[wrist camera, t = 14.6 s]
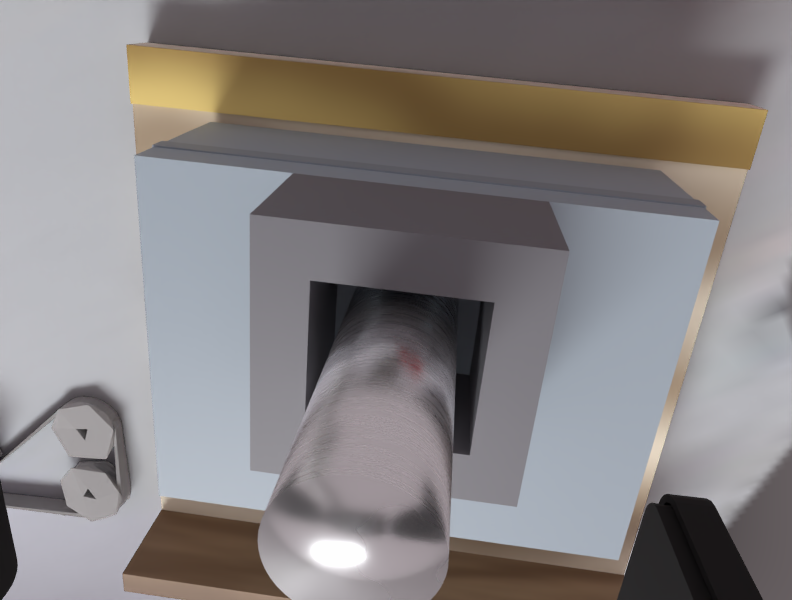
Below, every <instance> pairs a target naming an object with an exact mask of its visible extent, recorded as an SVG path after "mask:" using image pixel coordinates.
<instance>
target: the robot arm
mask: <svg viewBox="0 0 792 600" xmlns="http://www.w3.org/2000/svg"><path fill="white" fill-rule="evenodd" d="M17 566H18V565H17V557H16V552H15V548H14V543H13V538H12V534H11V529H10V524H9V519H8V515H7V510H6V505H5V500H4V496H3V491H2V486H1V481H0V600H2V599H3V597H4V596H5V595H6V593H7V592H8V591H9V589H10V587H11V586H12V584H13V582H14V579H15V576H16V573H17ZM617 600H763V599H762V597H761V595H760V593H759V591H758V589H757V587H756V585H755V583H754V581H753V579H752V578H751V576H750V574H749V572H748V570H747V568H746V566H745V564H744V562H743V560H742V558H741V556H740V554H739V552H738V550H737V548H736V546H735V544H734V543H733V540H732V539H731V537H730V535H729V533H728V531H727V529H726V527H725V525H724V523H723V521H722V519H721V517H720V515H719V513H718V511H717V509H716V507H715V506H714V504H713V503H712V502H711V501H710V500H708V499H705V498H697V497H688V496H680V495H671V494H666V495H664V496H663V497H662V498H661V499H660V502H659V504H655V503H650V504H649V505H648V506H647V508H646V510H645V513H644V516H643V519H642V522H641V526H640V529H639V532H638V535H637V538H636V541H635V544H634V548H633V551H632V554H631V557H630V560H629V563H628V566H627V570H626V573H625V576H624V579H623V582H622V585H621V588H620V592H619V595H618V598H617Z"/></svg>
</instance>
